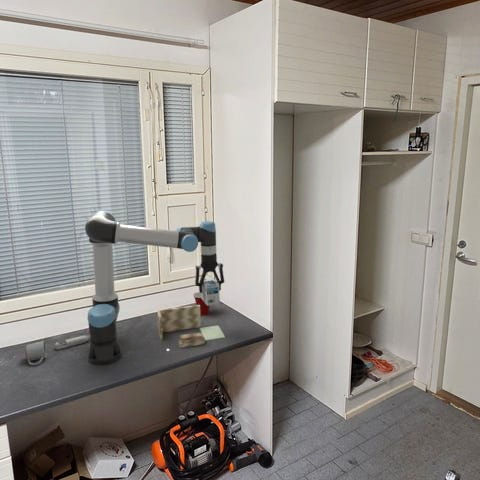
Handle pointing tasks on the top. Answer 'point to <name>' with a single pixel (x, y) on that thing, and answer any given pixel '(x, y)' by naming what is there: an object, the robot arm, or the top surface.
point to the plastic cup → (201, 304)
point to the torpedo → (72, 342)
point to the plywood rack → (178, 319)
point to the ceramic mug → (35, 352)
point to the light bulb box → (211, 292)
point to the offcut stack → (191, 340)
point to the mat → (212, 333)
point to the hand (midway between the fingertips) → (210, 297)
